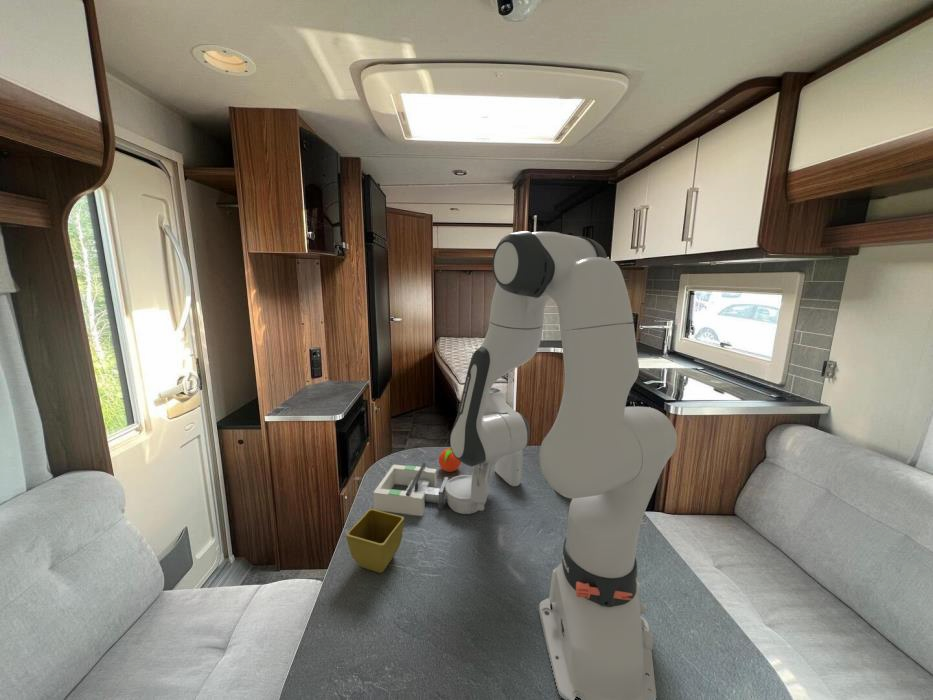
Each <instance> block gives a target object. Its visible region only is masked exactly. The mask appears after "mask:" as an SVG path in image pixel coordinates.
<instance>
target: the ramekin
mask: <svg viewBox="0 0 933 700" xmlns="http://www.w3.org/2000/svg"><path fill="white" fill-rule="evenodd" d="M471 483H472V474H471V475H470V474H469V475H468V474H462V475H461V474H460V475H457V476H453V477H451V478H449V480H448V482H447V483H446V485H445V492H446V495H447V498H446V501H447V504H448V507H449V508H450V509H451V510H452V511H454V512H456V513H458V514H463V515H472V514H474V513H476V512H478V511H479V510H477V503H474V502H472V501H471Z"/></svg>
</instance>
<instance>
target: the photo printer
mask: <svg viewBox="0 0 933 700" xmlns="http://www.w3.org/2000/svg"><path fill="white" fill-rule="evenodd" d="M523 463H524V450H521V451H519V452H516V453H512V454H509V455H506V456H503V457H501V459H500V460H498V461H497V462H496V464H495V465H494V472H496V474H497V475H498V476H499V477H500V478H502V480H504V481H505V483H507V484H508V485H509V486H510V487H511V486H512V487H518V486H520V484H521V483H522V477H523Z"/></svg>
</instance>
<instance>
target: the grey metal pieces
mask: <svg viewBox="0 0 933 700" xmlns="http://www.w3.org/2000/svg"><path fill="white" fill-rule="evenodd" d="M426 466H427V463H426V462H425V463H424V462H423V463H422V465H421V466H420V467H421V468H420V470H419V472H418V473H417V475H416V477H415V479H412V481H411V482H410V484H409V486H407V488H406V490H405V491H407V493H406V496H409V495H410V493H411V492H415V493H421V494H424V499H425V503H426V502H427V503H435V504H438V509H443V508H444V506H445V503H446V501H447V495H446V492H445V485H446V483H447V482H448V480H450V478H449V476H448V477H447V476H444V478H443V481H442V483H441V485H440V487H435V488H432V487H430V480H421V479H419V477H420V475H421V473H422V471H423V470H424V468H425V467H426Z"/></svg>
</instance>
